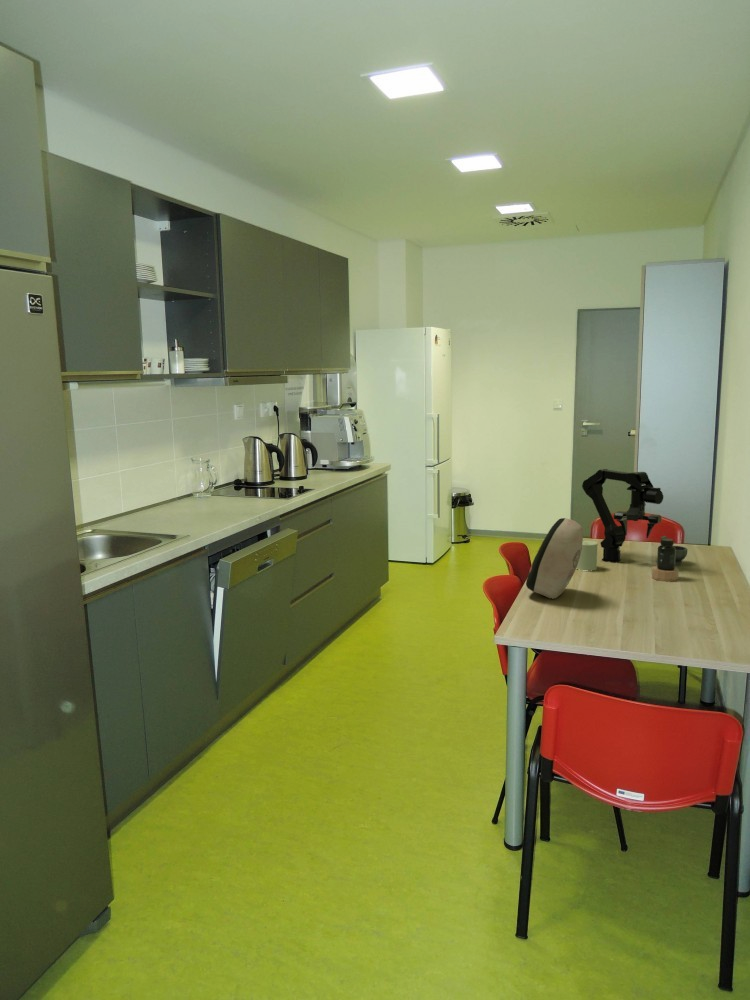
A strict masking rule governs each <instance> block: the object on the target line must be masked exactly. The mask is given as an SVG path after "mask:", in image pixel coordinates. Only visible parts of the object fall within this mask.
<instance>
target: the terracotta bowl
mask: <svg viewBox="0 0 750 1000" xmlns="http://www.w3.org/2000/svg"><path fill="white" fill-rule="evenodd" d="M679 571H680V570H679V569H678V568H677V567H675V569H674V570H660V569H658V568H657V565H654V566H652V567H651V578H652V579H653V580H656V581H660V582H668V581H671V582H676V580H677V581H679Z"/></svg>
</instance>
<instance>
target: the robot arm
mask: <svg viewBox="0 0 750 1000" xmlns="http://www.w3.org/2000/svg"><path fill="white" fill-rule="evenodd" d="M607 480H612V481H617V482H618V481H619V482H624V483H626V484H627V485H629V486H628V487H627V488H626V490H627V491H631V492H630V503H629V508H628V509H627V511H621V510H620V511H616V512H615V513H614V514H613V515H612V514H611V511H610V508H609V507H608V505H607V502H606V500H605V498H604V495H603V492H604V488H603V485H604V483H606V481H607ZM581 488H582V490H583V491H584V493H585V494H586V495H587V496H588V497H589V498H590V499H591V500H592V502H593V505H594V506H595V507H594V508H595V510H596V511H597V513H598V515H599V518H600V520H601V522H602V525H603V527H604V532H603V533H604V539H603V540H601V542H600V546H601V548H603V550H602V551H603V554H602V556H603V557H602V559H601V561H602V560H603V562H609V561H610V563H617V562H619V561H620V560H621V550H620V547H622V546H623V544H624V543H625V541H626V537H627V535H628V521H633V522H638V521H642V520H643V521H648V522H647V523H646V524H647V528H646V539H649V537H650V534H651V532H652V531H653V528H654V527H655V525H657V524H659V523H661V522H662V516H661V515H660V514H649V515H646V503H648V504H654V505H660V504H662V502H663V501H664V494H663V492H662V491H661V490H662V489H661V487H654V485H653V484H652V482H651V479H649V476H648V473H647V472H645V471H636V472H626V471H620V470H619V471H618V470H613V469H607V468H604V469H602V468H601V469H599V470H596V472H594V474H592V475H591V476H589V477H588V478H587V479H584V480H583V482H582V485H581ZM615 520H616V522H618V523H620V525H617V523H616V522H615Z"/></svg>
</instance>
